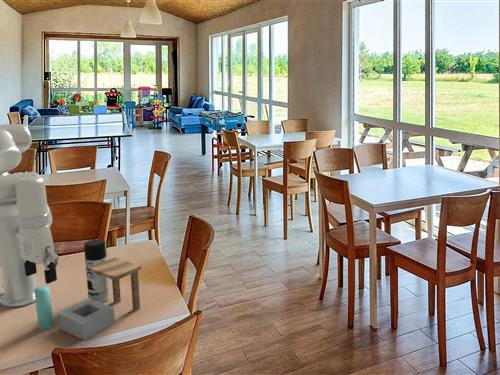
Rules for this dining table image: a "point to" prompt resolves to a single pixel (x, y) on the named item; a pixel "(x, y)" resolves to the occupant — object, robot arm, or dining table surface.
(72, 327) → the socket block
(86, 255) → the spray can
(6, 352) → the dining table surface
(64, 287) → the dining table surface
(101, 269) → the board on two legs
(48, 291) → the peg
